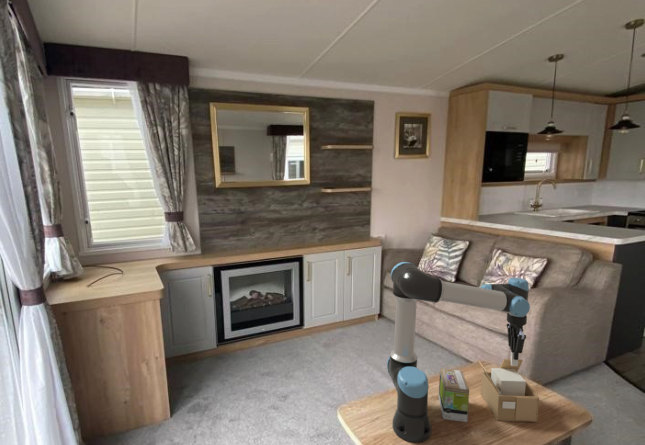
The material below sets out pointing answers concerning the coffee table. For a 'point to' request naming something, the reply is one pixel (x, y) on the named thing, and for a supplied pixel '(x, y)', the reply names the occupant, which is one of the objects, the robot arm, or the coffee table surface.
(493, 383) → the flap left
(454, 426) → the coffee table surface
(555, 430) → the coffee table surface
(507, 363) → the flap far
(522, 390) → the carton
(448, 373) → the tea box
